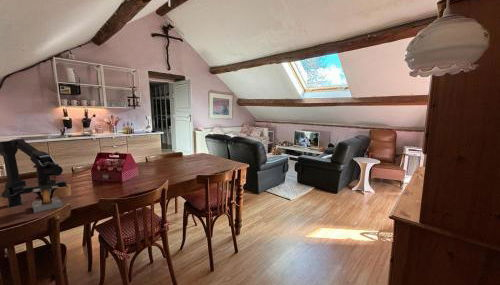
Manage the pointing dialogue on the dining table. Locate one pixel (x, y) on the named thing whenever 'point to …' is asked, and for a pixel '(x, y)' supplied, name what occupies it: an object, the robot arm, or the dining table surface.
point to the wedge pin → (46, 196)
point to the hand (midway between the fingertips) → (46, 200)
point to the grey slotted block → (46, 205)
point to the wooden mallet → (62, 192)
